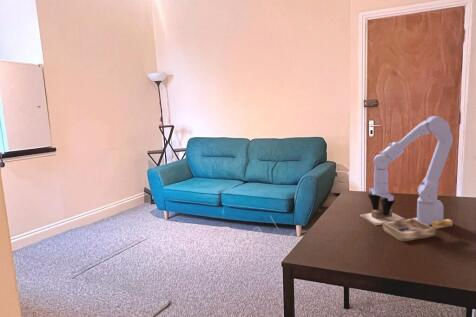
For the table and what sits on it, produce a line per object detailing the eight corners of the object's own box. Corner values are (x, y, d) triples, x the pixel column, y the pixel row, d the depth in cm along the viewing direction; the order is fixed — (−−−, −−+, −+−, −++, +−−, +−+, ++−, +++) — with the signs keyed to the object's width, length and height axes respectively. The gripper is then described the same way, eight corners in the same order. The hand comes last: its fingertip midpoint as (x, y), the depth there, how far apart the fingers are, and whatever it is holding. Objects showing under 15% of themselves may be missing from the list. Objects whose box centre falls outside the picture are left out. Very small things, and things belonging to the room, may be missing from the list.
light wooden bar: (448, 224, 128) (448, 218, 128) (452, 225, 126) (452, 220, 126) (431, 226, 127) (431, 221, 126) (435, 228, 125) (436, 223, 125)
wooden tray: (413, 225, 140) (413, 218, 139) (435, 236, 128) (435, 228, 128) (382, 230, 137) (382, 223, 137) (402, 241, 126) (402, 234, 125)
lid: (387, 212, 157) (387, 204, 156) (409, 223, 143) (409, 213, 142) (359, 216, 154) (359, 208, 154) (379, 227, 140) (379, 218, 139)
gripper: (363, 179, 153) (363, 208, 156) (382, 187, 139) (382, 218, 142) (377, 177, 155) (377, 206, 157) (398, 185, 141) (397, 216, 143)
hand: (380, 212), depth 149 cm, fingers open, 7 cm apart
